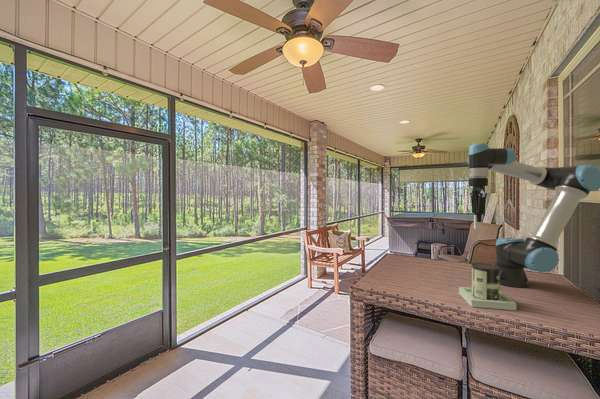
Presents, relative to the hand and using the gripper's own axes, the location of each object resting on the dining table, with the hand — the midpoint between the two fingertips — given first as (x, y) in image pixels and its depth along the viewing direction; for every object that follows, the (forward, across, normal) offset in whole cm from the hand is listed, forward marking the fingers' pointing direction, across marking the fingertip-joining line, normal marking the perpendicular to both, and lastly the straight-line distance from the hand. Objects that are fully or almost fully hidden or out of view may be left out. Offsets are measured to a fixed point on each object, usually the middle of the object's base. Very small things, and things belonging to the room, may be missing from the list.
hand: (477, 228), depth 127 cm
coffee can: (+29, +9, 0) cm, 31 cm away
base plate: (+30, +9, 0) cm, 32 cm away
